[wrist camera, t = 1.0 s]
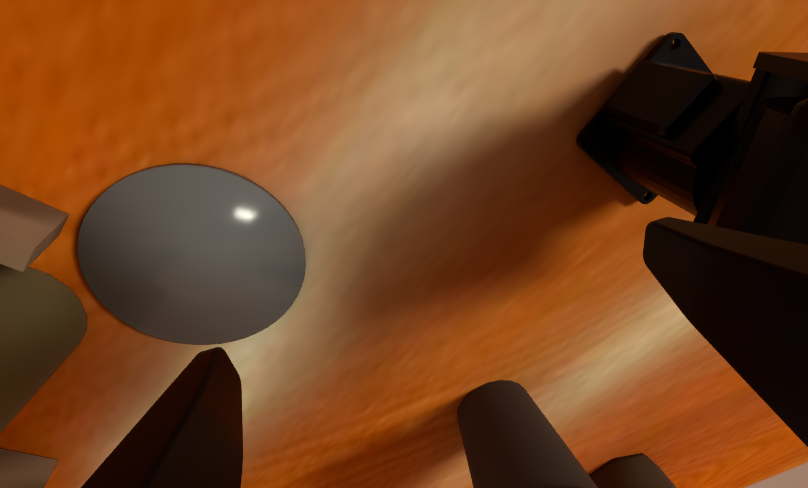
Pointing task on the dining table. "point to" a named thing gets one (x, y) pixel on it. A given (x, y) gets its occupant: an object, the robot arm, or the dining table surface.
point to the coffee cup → (514, 442)
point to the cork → (33, 334)
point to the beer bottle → (631, 474)
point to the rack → (17, 248)
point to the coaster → (191, 254)
